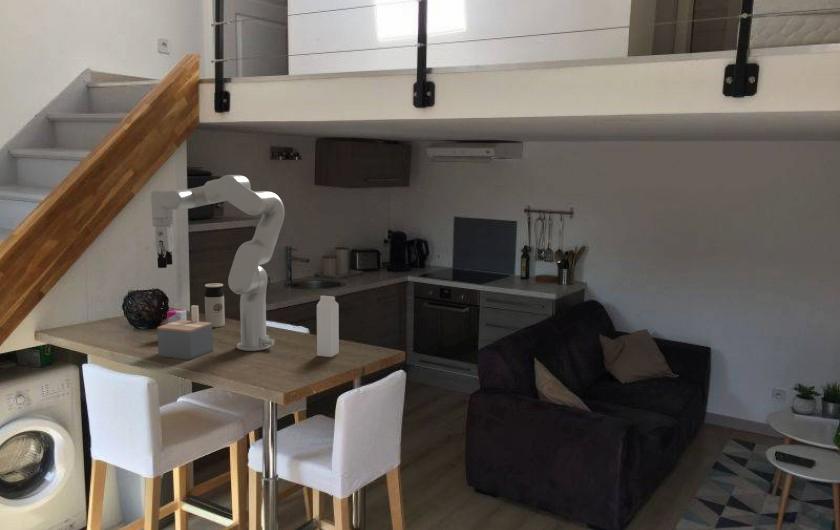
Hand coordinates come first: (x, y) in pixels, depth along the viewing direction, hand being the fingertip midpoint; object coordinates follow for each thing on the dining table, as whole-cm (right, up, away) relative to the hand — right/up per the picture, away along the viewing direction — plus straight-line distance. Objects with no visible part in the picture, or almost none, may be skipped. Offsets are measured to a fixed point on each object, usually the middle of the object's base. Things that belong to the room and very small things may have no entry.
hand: (165, 266), depth 273 cm
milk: (+65, -33, -14) cm, 74 cm away
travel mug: (+11, -26, +30) cm, 41 cm away
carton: (+13, -32, -15) cm, 38 cm away
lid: (+13, -22, -16) cm, 31 cm away
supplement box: (+3, -29, +7) cm, 30 cm away
